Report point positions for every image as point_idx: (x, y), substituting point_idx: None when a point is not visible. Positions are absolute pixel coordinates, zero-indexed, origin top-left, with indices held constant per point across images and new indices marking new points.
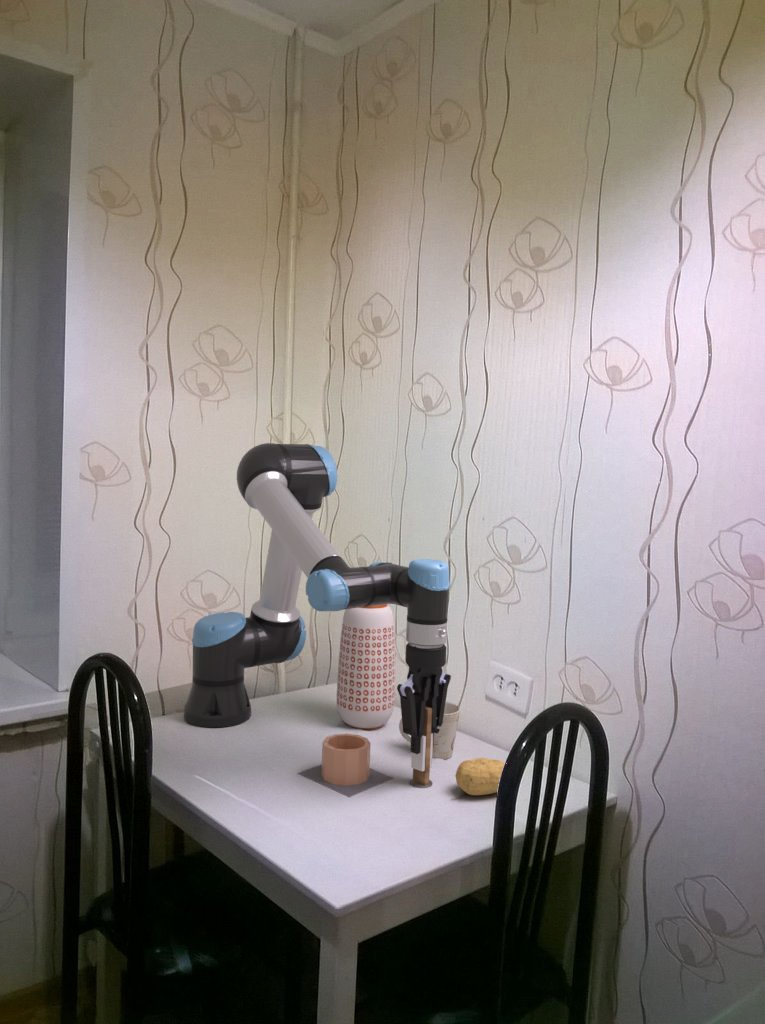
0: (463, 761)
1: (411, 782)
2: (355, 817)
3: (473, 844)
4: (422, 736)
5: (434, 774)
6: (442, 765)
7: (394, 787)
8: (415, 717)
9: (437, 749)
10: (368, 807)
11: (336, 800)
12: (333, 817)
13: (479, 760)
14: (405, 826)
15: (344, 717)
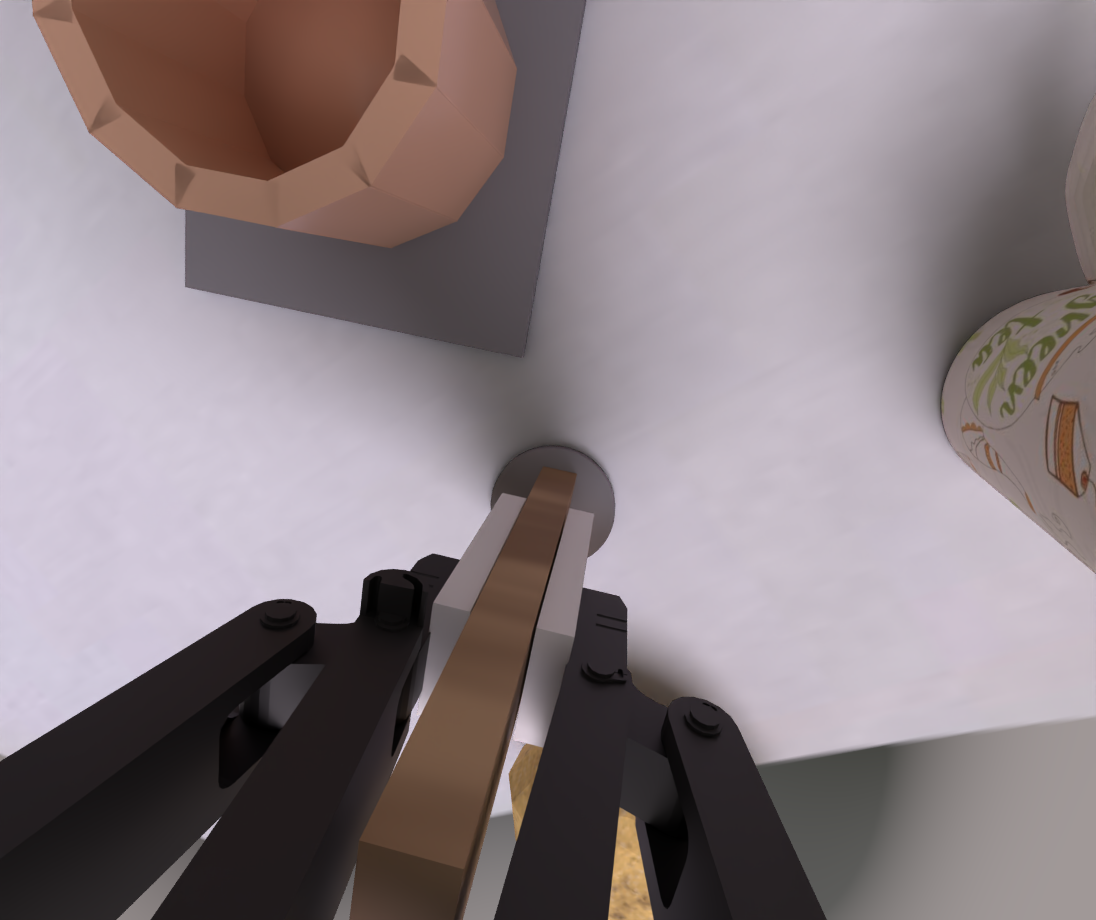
0: None
1: (524, 468)
2: (95, 415)
3: None
4: (426, 702)
5: (723, 505)
6: (874, 491)
7: (448, 406)
8: (149, 875)
9: (974, 452)
10: (199, 412)
11: (143, 240)
12: (27, 335)
13: (637, 899)
14: (186, 615)
15: None
